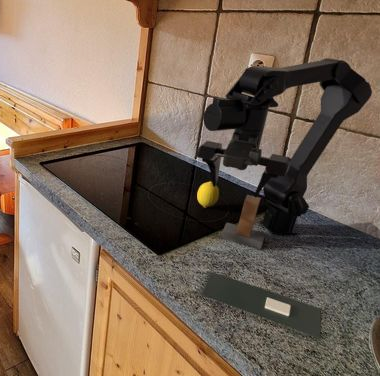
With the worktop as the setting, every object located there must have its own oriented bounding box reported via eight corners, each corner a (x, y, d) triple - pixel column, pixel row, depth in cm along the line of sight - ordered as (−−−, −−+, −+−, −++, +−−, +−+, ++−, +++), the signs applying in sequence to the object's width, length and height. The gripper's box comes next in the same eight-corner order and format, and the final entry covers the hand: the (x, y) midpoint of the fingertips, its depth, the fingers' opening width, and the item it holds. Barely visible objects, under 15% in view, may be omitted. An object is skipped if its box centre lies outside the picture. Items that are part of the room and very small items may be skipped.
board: (320, 310, 77) (321, 308, 76) (319, 341, 70) (320, 338, 70) (210, 273, 86) (211, 271, 86) (200, 297, 79) (201, 294, 79)
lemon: (205, 213, 111) (211, 187, 107) (190, 205, 115) (195, 179, 112) (219, 209, 113) (226, 183, 110) (204, 201, 118) (210, 176, 114)
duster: (263, 239, 99) (275, 200, 95) (260, 249, 95) (273, 208, 91) (225, 229, 104) (234, 190, 99) (220, 237, 100) (230, 197, 95)
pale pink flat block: (290, 307, 77) (290, 305, 76) (288, 316, 74) (289, 314, 74) (266, 299, 78) (267, 297, 78) (264, 308, 76) (265, 305, 76)
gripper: (194, 127, 88) (183, 192, 94) (291, 145, 77) (271, 216, 84) (210, 117, 96) (199, 177, 102) (300, 132, 86) (281, 197, 92)
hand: (234, 191), depth 95 cm, fingers open, 9 cm apart
